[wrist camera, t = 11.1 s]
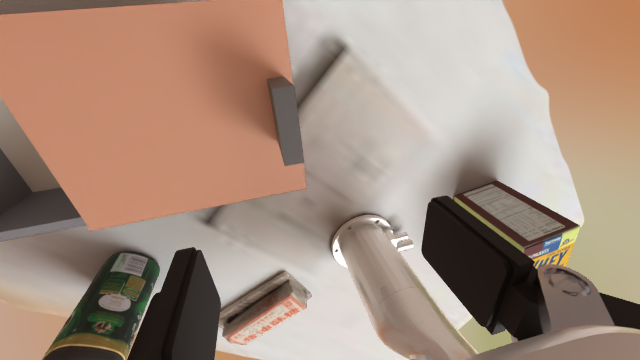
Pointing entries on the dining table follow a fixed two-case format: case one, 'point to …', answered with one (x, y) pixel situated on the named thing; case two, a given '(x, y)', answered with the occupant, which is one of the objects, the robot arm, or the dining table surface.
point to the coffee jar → (108, 311)
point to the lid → (156, 104)
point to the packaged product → (263, 309)
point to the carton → (28, 187)
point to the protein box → (522, 222)
